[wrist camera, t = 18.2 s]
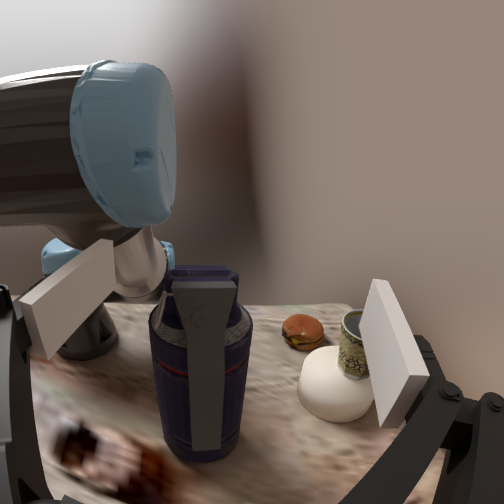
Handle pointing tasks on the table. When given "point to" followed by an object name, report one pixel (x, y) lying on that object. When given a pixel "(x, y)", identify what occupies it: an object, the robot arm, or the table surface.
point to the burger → (302, 332)
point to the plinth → (332, 388)
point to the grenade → (200, 360)
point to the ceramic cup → (352, 348)
